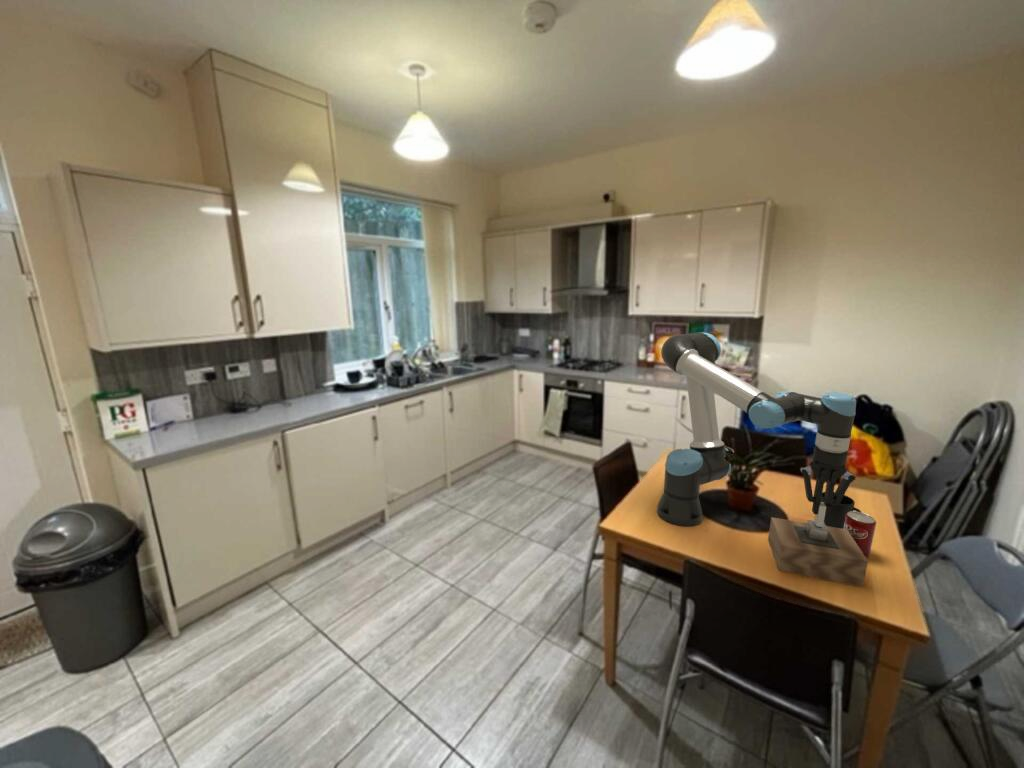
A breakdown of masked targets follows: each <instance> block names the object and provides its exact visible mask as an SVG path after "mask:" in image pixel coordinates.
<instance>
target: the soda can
mask: <svg viewBox="0 0 1024 768" xmlns="http://www.w3.org/2000/svg"><path fill="white" fill-rule="evenodd" d="M876 526H877V521H876V520H875V518H874V517H873V516H871V515H870V514H867V513H864V512H862V511H861V512H857V511H854V510H853V511H850V512H848V513H846V515H845V520H844V526H843V529H847V530H848V532H849V533H850V535H851V536H852V538H853V539H854V541H855V542H856V544H857V545H858V547H859V548H860V550H861V551H862V553H863V554H864V556H865V557H866V558H868V557H870V555H871V550H872V545H873V540H874V536H875V532H876Z"/></svg>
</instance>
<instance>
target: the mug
mask: <svg viewBox="0 0 1024 768" xmlns="http://www.w3.org/2000/svg"><path fill="white" fill-rule="evenodd" d="M834 493H835V491H834ZM834 493H833V495H834ZM824 496H825V491H823V492H822V497H821V502H824ZM850 511H857V512H862V511H861V510H860V509H859V508H856V507H855V500H854V499H853V498H851V497H850V496H848V495H846V494H844V496H843V498H842V500H841V502H840V504H839V505H838V506H836V505H832V507H831V508H830V512H829V515H828V516H825V518H824V523H825V525H826V526H829V527H835V528H841V529H843V526H844V520H845V515H846V513H848V512H850Z"/></svg>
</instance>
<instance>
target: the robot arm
mask: <svg viewBox="0 0 1024 768" xmlns="http://www.w3.org/2000/svg"><path fill="white" fill-rule="evenodd" d="M721 352H722V348H721V344H720V342H719V340H718V338H717V337H716V336H714V335H713V334H711V333H708V332H700V331H698V332H692V333H684V334H681V333H680V334H674V335H672V336H670V337H669V338H667V339H666V340H665V341H664V342H663V344H662V347H661V359H662V361H663V363H664V364H665V365H666V366H667V367H668V368H669V369H670V370H672V371H674V372H675V373H677V374H678V375H680V376H681V375H682V376H683V375H685V377H686V385H687V393H688V394H687V395H688V403H689V411H690V412H689V413H690V419H691V428H692V438H693V439H692V441H691V442H690V443H689V448H684V449H682V448H678V449H677V448H676V449H674V450H672V451H670V452H669V453H668V454H667V456H666V460H665V464H664V467H665V469H664V483H663V492H662V494H661V496H660V499H659V501H658V503H657V505H656V513H657V515H658V516H659V518H661V519H662V520H664V521H665V522H667V523H670V524H673V525H676V526H679V527H680V526H682V527H691V526H692V527H693V526H697V525H698V524H701V522H702V520H703V511H702V506H701V502H700V498H699V497H700V489H701V488H700V487H701V486H702V485H705V484H709V483H711V482H714V481H719V480H721V479H723V478H725V477H728V475H729V474H731V472H732V470H731V464H729V462H728V461H726V459H725V457H726V451H729V450H728V449H727V448H725V446H726V445H725V442H724V441H722V439H720V435H719V426H718V418H717V409H716V408H717V407H716V400H715V394H716V395H718V396H719V397H720V398H722V399H724V400H725V401H727V402H729V403H731V404H732V405H733V406H735V407H737V408H739V410H742V411H743V412H745V413H746V414H748V418H749V420H750V421H751V423H752V424H753V425H754V426H755V427H757V428H759V429H771V428H772V429H773V428H778V427H779V426H782V425H786V424H790V423H793V422H797V421H803V422H805V423H806V422H807V423H810V424H813V425H814V424H815V425H817V428H816V429H817V431H816V435H815V436H816V437H815V440H814V444H815V445H814V448H813V454H812V461H811V462H810V463H809V465H808V466H806V467H804V466H800V467H799V470H800V472H801V473H802V476H803V477H802V478H803V483H804V488H805V489H804V490H805V497H806V498H807V500H808V502H809V503H812V508H811V511H812V513H813V515H814V519H813V521H814V522H815V524H816V526H819V527H823V523H824V518H825V516H828V515H829V512H830V508H831V507H832V505H836V506H838V505H839V504H840V502H841V500H842V498H843V496H844V495H846V492H847V491H848V488H849V487H850V485H851V483H853V482H854V481H855V480H856V478H857V477H856V476H855V475H854V474H853V473H852V472H850V471H848V469H847V466H846V464H847V462H848V461H847V459H848V455H849V453H848V452H847V451H849V449H850V447H849V446H850V442H851V438H852V437H851V436H852V431H853V425H854V420H855V416H856V415H857V413H856V412H857V411H856V407H857V400H856V398H855V397H854V396H853V395H850V394H846V393H839V392H826V393H824V394H823V395H822V397H816V396H811V395H807V394H802V393H799V392H795V391H785V390H783V391H780V392H778V394H776V395H775V397H773V396H771V395H770V394H768V393H766V392H764V391H763V390H761V389H758V388H757V387H756V386H754V385H751V383H748V382H747V381H745V380H743V379H741V378H740V377H738V376H736V375H735V374H732V373H731V372H729V371H727V370H726V369H724V368H722V367H720V366H719V365H717V364H716V361H718V359H719V358H720V357H721ZM725 450H726V451H725ZM812 472H813V474H814V475H815V479H816V480H815V486H814V491H813V489H812V488H813V487H812V481H811V475H812ZM841 477H842V478H841ZM840 478H841V479H840ZM838 479H840V482H839V484H838V485H837V488H836V489H835V486H836V484H837V480H838ZM825 483H826V485H825ZM824 485H825V490H824ZM822 492H825V496H824V502H821V497H822ZM834 492H835V493H834ZM833 493H834V495H833Z"/></svg>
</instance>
